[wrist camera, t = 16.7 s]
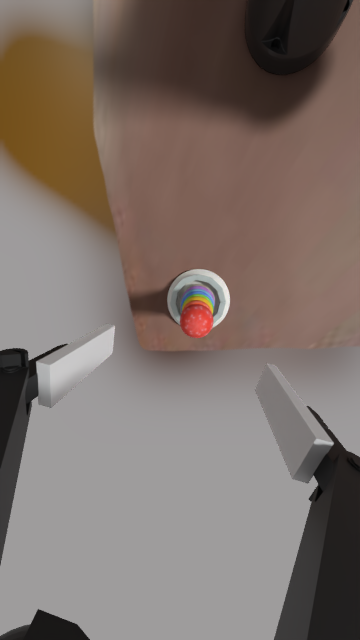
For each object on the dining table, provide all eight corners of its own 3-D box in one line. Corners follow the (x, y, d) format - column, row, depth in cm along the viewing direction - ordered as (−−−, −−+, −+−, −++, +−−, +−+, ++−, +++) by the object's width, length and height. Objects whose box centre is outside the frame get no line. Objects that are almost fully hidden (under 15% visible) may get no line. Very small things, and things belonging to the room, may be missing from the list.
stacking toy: (179, 314, 43) (162, 345, 25) (183, 281, 41) (167, 290, 23) (211, 319, 42) (216, 354, 24) (217, 286, 40) (228, 299, 22)
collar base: (159, 280, 42) (156, 281, 40) (220, 259, 39) (221, 259, 36) (178, 336, 45) (177, 340, 43) (236, 321, 42) (238, 324, 40)
